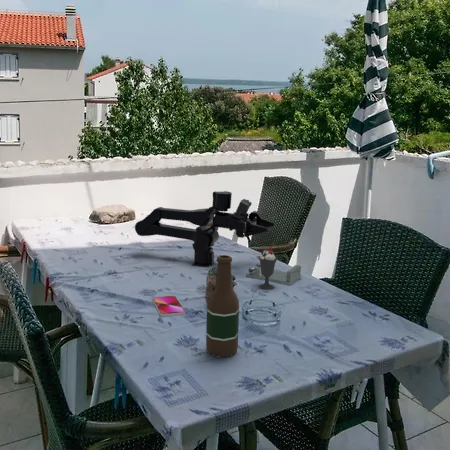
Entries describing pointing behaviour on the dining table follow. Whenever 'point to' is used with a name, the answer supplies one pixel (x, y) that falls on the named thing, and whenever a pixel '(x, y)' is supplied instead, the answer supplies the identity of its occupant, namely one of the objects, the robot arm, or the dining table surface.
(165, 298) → the smartphone
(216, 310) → the beer bottle
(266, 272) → the sundae
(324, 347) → the dining table surface
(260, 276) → the vise
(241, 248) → the dining table surface
